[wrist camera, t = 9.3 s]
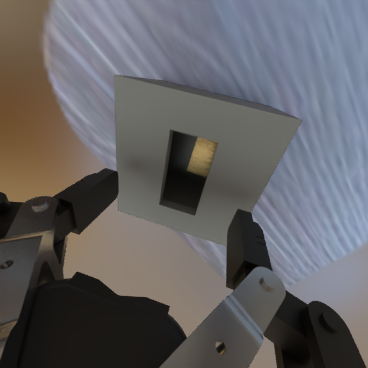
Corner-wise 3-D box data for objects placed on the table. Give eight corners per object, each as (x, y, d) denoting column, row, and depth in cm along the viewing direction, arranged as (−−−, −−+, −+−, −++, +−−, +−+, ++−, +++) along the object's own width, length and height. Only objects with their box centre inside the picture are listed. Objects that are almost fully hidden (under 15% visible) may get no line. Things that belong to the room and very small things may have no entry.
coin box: (161, 80, 18) (114, 74, 11) (269, 106, 17) (302, 120, 10) (151, 173, 25) (117, 210, 17) (230, 196, 24) (231, 247, 16)
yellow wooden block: (186, 170, 20) (203, 121, 17) (189, 164, 22) (205, 118, 19) (224, 184, 20) (249, 138, 17) (225, 177, 22) (247, 133, 19)
